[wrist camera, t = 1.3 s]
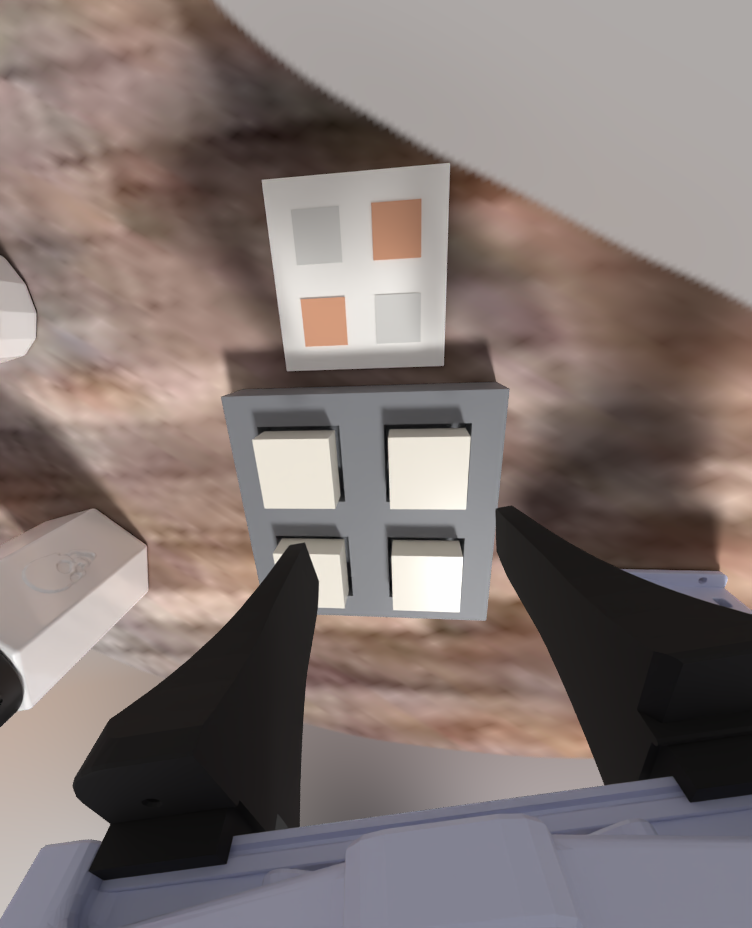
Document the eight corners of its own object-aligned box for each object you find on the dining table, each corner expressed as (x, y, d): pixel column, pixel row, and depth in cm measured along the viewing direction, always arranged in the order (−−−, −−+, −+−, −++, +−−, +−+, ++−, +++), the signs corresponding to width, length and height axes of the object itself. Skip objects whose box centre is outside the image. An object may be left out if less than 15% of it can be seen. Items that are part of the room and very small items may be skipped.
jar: (174, 560, 26) (-1, 733, 15) (127, 615, 28) (-52, 796, 17) (69, 485, 24) (-218, 616, 13) (29, 550, 27) (-239, 706, 16)
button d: (344, 539, 21) (339, 554, 19) (348, 590, 22) (344, 608, 21) (282, 538, 21) (272, 553, 20) (290, 588, 23) (282, 606, 21)
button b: (458, 540, 20) (463, 557, 19) (456, 593, 22) (459, 612, 20) (392, 539, 21) (391, 555, 19) (393, 591, 22) (392, 610, 21)
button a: (465, 427, 18) (470, 436, 16) (461, 495, 19) (466, 509, 18) (389, 429, 18) (388, 437, 17) (391, 495, 20) (390, 509, 18)
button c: (334, 430, 18) (328, 438, 17) (340, 495, 20) (335, 508, 18) (264, 431, 19) (252, 439, 17) (275, 495, 20) (264, 508, 19)
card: (449, 165, 16) (450, 161, 15) (443, 365, 19) (443, 366, 19) (264, 182, 17) (260, 178, 16) (288, 370, 20) (286, 371, 19)
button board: (496, 381, 19) (509, 388, 17) (478, 592, 24) (486, 620, 22) (242, 389, 20) (220, 396, 18) (278, 586, 26) (265, 612, 23)
